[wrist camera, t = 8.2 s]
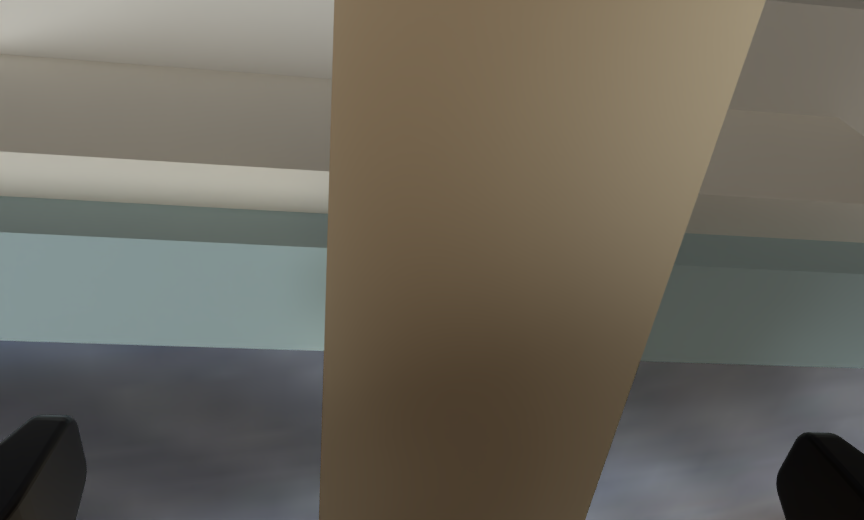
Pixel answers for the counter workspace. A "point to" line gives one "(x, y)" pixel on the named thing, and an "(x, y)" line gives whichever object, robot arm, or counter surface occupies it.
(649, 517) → the counter surface
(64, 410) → the counter surface
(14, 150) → the ridge stand
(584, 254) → the birch bar
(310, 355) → the counter surface
